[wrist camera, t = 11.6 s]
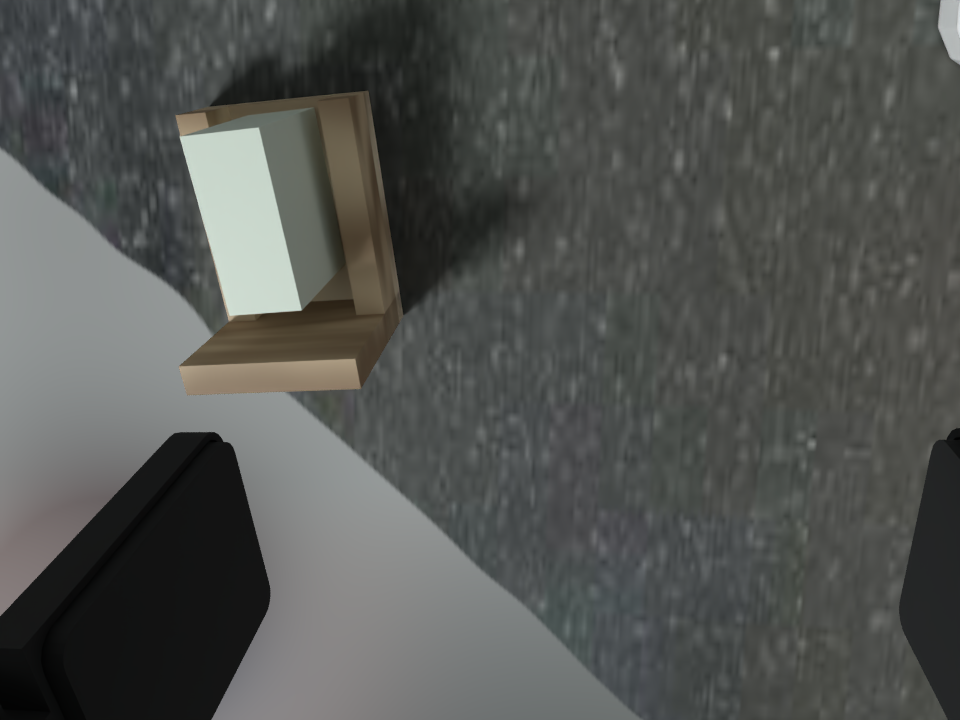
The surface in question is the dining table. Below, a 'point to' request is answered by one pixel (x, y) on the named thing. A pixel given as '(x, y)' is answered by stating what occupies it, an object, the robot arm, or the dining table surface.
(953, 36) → the white cup
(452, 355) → the dining table surface
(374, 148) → the track block
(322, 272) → the pale green tall block
